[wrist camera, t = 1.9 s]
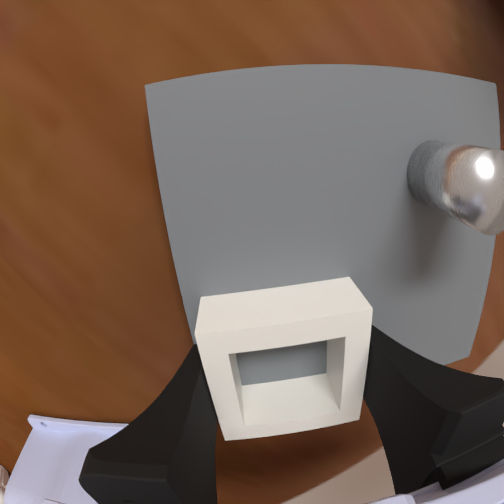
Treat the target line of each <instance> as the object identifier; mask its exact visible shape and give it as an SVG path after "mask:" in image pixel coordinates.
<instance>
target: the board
mask: <svg viewBox="0 0 504 504" xmlns="http://www.w3.org/2000/svg"><path fill="white" fill-rule="evenodd" d="M145 91H146V99H147V108H148V115H149V123H150V130H151V137H152V144H153V151H154V157H155V164H156V170H157V176H158V182H159V188H160V193H161V199H162V205H163V210H164V215H165V221H166V226H167V231H168V236H169V241H170V245H171V250H172V255H173V260H174V264H175V269H176V273H177V278H178V282H179V287H180V291H181V295H182V299H183V303H184V308H185V312H186V316H187V320H188V324H189V328H190V331H191V335H192V339H193V343H194V344H197V342H196V338H195V328H196V322H197V316H198V310H199V304H200V298H201V297H204V296H213V295H221V294H229V293H237V292H245V291H253V290H261V289H268V288H276V287H283V286H290V285H297V284H304V283H311V282H318V281H325V280H331V279H338V278H344V277H350V278H351V280H352V281H353V282H354V284H355V285H356V286H357V288H358V289H359V290H360V292H361V293H362V294H363V296H364V297H365V298H366V300H367V301H368V302H369V304H370V305H371V307H372V308H373V313H372V325H373V326H375V327H376V328H378V329H379V330H381V331H382V332H383V333H385V334H386V335H388V336H389V337H391V338H392V339H394V340H395V341H397V342H398V343H400V344H402V345H403V346H405V347H406V348H408V349H410V350H412V351H414V352H415V353H417V354H419V355H421V356H423V357H425V358H427V359H429V360H432V361H434V362H436V363H438V364H441V365H446V364H449V363H452V362H455V361H458V360H460V359H463V358H466V357H468V356H469V355H470V352H471V348H472V345H473V342H474V338H475V335H476V331H477V328H478V324H479V320H480V316H481V312H482V308H483V304H484V300H485V295H486V290H487V286H488V281H489V275H490V270H491V264H492V258H493V251H494V244H495V237H496V235H491V236H489V235H485V234H482V233H480V232H478V231H476V230H475V229H473V228H471V227H469V226H467V225H465V224H463V223H461V222H459V221H457V220H455V219H453V218H451V217H449V216H447V215H444V214H442V213H440V212H438V211H436V210H434V209H432V208H430V207H428V206H425V205H423V204H421V203H420V202H418V201H417V200H416V199H415V197H414V196H413V195H412V193H411V191H410V189H409V186H408V182H407V166H408V162H409V159H410V156H411V154H412V153H413V151H414V150H415V149H416V147H417V146H419V145H420V144H421V143H423V142H425V141H428V140H439V141H447V142H455V143H462V144H469V145H476V146H482V147H488V148H493V149H499V150H500V123H499V109H498V98H497V88H496V83H492V82H487V81H483V80H478V79H474V78H469V77H463V76H458V75H452V74H446V73H440V72H433V71H426V70H417V69H409V68H399V67H387V66H372V65H346V64H310V65H284V66H268V67H256V68H246V69H236V70H228V71H220V72H213V73H206V74H200V75H194V76H188V77H182V78H177V79H172V80H166V81H162V82H157V83H152V84H148V85H145ZM236 358H237V363H238V368H239V374H240V379H241V384H242V386H243V385H251V384H260V383H267V382H275V381H282V380H288V379H295V378H301V377H307V376H313V375H318V374H324V373H326V368H327V340H324V341H318V342H312V343H306V344H299V345H293V346H286V347H280V348H272V349H265V350H257V351H249V352H241V353H236Z"/></svg>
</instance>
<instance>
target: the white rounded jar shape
mask: <svg viewBox="0 0 504 504" xmlns="http://www.w3.org/2000/svg"><path fill="white" fill-rule="evenodd" d="M8 481H9V475H8V471H7V470H6V469H5V468H4V467H3V466H2V465H0V504H4V494H5V489H6V486H7V483H8Z"/></svg>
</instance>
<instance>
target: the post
mask: <svg viewBox="0 0 504 504" xmlns="http://www.w3.org/2000/svg"><path fill="white" fill-rule="evenodd" d="M407 182H408V186H409V189H410V191H411V193H412V195H413V196H414V197H415V199H416V200H417V201H418V202H420V203H421V204H423V205H425V206H428V207H430V208H432V209H434V210H436V211H438V212H440V213H442V214H444V215H447V216H449V217H451V218H453V219H455V220H457V221H459V222H461V223H463V224H465V225H467V226H469V227H471V228H473V229H475V230H476V231H478V232H480V233H482V234H485V235H489V236H491V235H496V234H499V233H500V232H502V231H503V230H504V151H503V150H499V149H493V148H488V147H482V146H476V145H469V144H462V143H455V142H447V141H439V140H428V141H425V142H423V143H421V144H420V145H419V146H417V147H416V149H415V150H414V151H413V153H412V154H411V156H410V159H409V162H408V166H407Z"/></svg>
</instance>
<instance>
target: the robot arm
mask: <svg viewBox="0 0 504 504" xmlns="http://www.w3.org/2000/svg"><path fill="white" fill-rule="evenodd" d="M363 398H364V400H365V402H366V404H367V406H368V408H369V410H370V412H371V414H372V416H373V418H374V421H375V423H376V425H377V428H378V431H379V434H380V437H381V440H382V443H383V446H384V449H385V453H386V456H387V460H388V463H389V468H390V471H391V476H392V480H393V484H394V489H395V494H396V495H393V496H389V497H385V498H382V499H379V500H376V501H373V502H369V503H366V504H504V436H503V435H504V427H503V426H502V424H503V422H504V380H503V379H501V378H492V377H485V376H479V375H475V374H470V373H466V372H462V371H459V370H455V369H452V368H449V367H446V366H444V365H441V364H438V363H436V362H434V361H432V360H429V359H427V358H425V357H423V356H421V355H419V354H417V353H415V352H414V351H412V350H410V349H408V348H406V347H405V346H403V345H402V344H400V343H398V342H397V341H395V340H394V339H392V338H391V337H389V336H388V335H386V334H385V333H383V332H382V331H381V330H379V329H378V328H376V327H375V326H373V325H371V336H370V346H369V355H368V363H367V371H366V379H365V386H364V393H363ZM28 421H29V423H30V424H31V426H32V427H33V429H32V431H31V433H30V435H29V437H28V439H27V441H26V443H25V445H24V447H23V450H22V452H21V454H20V456H19V458H18V460H17V463H16V465H15V467H14V469H13V471H12V474H11V476H10V478H9V481H8V483H7V486H6V489H5V494H4V504H217V492H216V474H215V442H216V431H217V421H218V417H217V413H216V410H215V407H214V403H213V400H212V397H211V393H210V390H209V386H208V383H207V379H206V375H205V372H204V368H203V365H202V361H201V357H200V353H199V350H198V346H197V344H194V345H193V347H192V348H191V350H190V352H189V353H188V355H187V357H186V358H185V360H184V362H183V363H182V365H181V366H180V368H179V369H178V371H177V372H176V374H175V375H174V377H173V378H172V380H171V381H170V382H169V384H168V385H167V386H166V388H165V389H164V390H163V391H162V393H161V394H160V395H159V396H158V397H157V399H156V400H155V401H154V402H153V403H152V404H151V405H150V406H149V407H148V408H147V409H146V410H145V411H144V412H143V413H142V414H140V415H139V416H138V417H137V418H136V419H135V420H134V421H132V422H131V423H130V424H122V423H102V422H88V421H77V420H68V419H59V418H51V417H44V416H37V415H30V416H29V417H28Z"/></svg>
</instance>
